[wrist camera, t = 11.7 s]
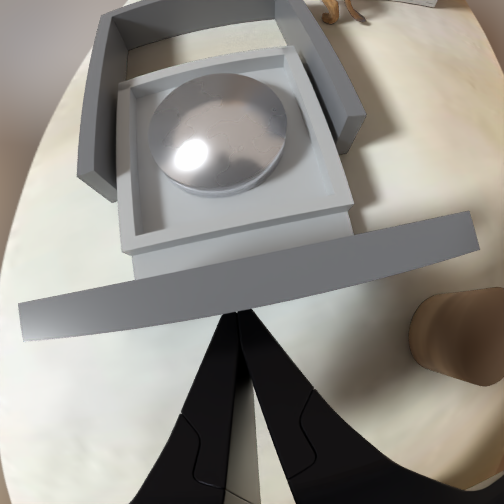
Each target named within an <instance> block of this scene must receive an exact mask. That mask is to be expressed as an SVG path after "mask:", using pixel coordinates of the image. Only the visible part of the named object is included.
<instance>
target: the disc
mask: <svg viewBox="0 0 504 504" xmlns="http://www.w3.org/2000/svg"><path fill="white" fill-rule="evenodd" d="M286 132H287V117H286V112H285V109H284V107H283V104H282V102H281V101H280V99H279V98H278V96H277V95H276V94H275V93H274V92H273V91H272V90H271V89H270V88H269V87H268V86H266V85H265V84H263V83H262V82H260V81H258V80H256V79H253V78H250V77H248V76H244V75H240V74H232V73H218V74H210V75H205V76H201V77H198V78H195V79H193V80H190V81H188V82H186V83H184V84H182V85H181V86H179V87H177V88H176V89H175V90H173V91H172V92H171V93H170V94H169V95H167V96H166V97H165V98H164V100H163V101H162V102H161V103H160V104H159V106H158V107H157V109H156V110H155V112H154V114H153V116H152V119H151V122H150V125H149V130H148V143H149V148H150V151H151V154H152V156H153V158H154V160H155V162H156V163H157V164H158V166H159V167H160V169H161V170H162V171H163V173H164V174H165V176H166V177H167V178H168V180H169V181H170V182H171V183H172V184H174V185H175V186H176V187H178V188H179V189H181V190H183V191H184V192H186V193H189V194H191V195H194V196H198V197H203V198H226V197H232V196H236V195H239V194H242V193H244V192H247V191H249V190H251V189H253V188H255V187H256V186H258V185H259V184H261V183H262V182H263V181H264V180H266V179H267V178H268V177H269V176H270V175H271V174H272V172H273V171H274V170H275V169H276V167H277V165H278V164H279V162H280V160H281V157H282V155H283V151H284V147H285V139H286Z"/></svg>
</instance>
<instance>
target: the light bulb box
mask: <svg viewBox="0 0 504 504" xmlns="http://www.w3.org/2000/svg"><path fill="white" fill-rule="evenodd" d="M391 1H399V2H406V3H412V4H418V5H424V6H429V7H435V5H436V3H437V1H438V0H391Z"/></svg>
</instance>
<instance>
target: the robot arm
mask: <svg viewBox="0 0 504 504" xmlns="http://www.w3.org/2000/svg"><path fill="white" fill-rule="evenodd" d="M253 386H254V389H255V392H256V395H257V398H258V401H259V404H260V407H261V410H262V413H263V415H264V418H265V421H266V424H267V427H268V430H269V433H270V435H271V438H272V441H273V444H274V446H275V449H276V452H277V455H278V457H279V460H280V463H281V466H282V468H283V471H284V474H285V476H286V479H287V481H288V484H289V487H290V489H291V492H292V495H293V497H294V500H295V503H296V504H504V471H502V472H500V473H498V474H496V475H494V476H492V477H491V478H489V479H487V480H485V481H483V482H481V483H479V484H477V485H475V486H473V487H470V488H468V489H466V490H462V489H458V488H455V487H452V486H450V485H447V484H444V483H441V482H439V481H436V480H433V479H431V478H428V477H426V476H423V475H421V474H418V473H416V472H413V471H411V470H409V469H406V468H404V467H402V466H400V465H399V464H397V463H395V462H394V461H392V460H391V459H389V458H388V457H386V456H385V455H384V454H383V453H381V452H380V451H379V450H378V449H376V448H375V447H374V446H373V445H372V444H371V443H369V442H368V441H367V440H366V439H365V438H363V437H362V436H361V435H360V434H359V433H358V432H356V431H355V430H354V429H353V428H352V427H351V426H350V425H348V424H347V423H346V422H345V421H344V420H343V419H342V418H341V417H340V416H339V415H338V414H337V413H336V412H335V411H334V410H333V409H332V408H331V407H330V405H329V404H328V403H327V402H326V401H325V400H324V399H323V397H322V396H321V395H320V394H319V393H318V391H317V390H316V389H314V387H313V386H312V384H311V383H310V382H309V381H308V379H307V378H306V377H305V376H304V374H303V373H302V372H301V371H300V370H299V368H298V367H297V366H296V365H295V363H294V362H293V361H292V360H291V358H290V357H289V356H288V355H287V353H286V352H285V351H284V350H283V348H282V347H281V346H280V344H279V343H278V342H277V341H276V339H275V338H274V337H273V336H272V334H271V333H270V332H269V330H268V329H267V328H266V327H265V325H264V324H263V323H262V322H261V320H260V319H259V318H258V316H257V315H256V314H255V312H254V311H253V310H252V309H246V310H241V311H238V312H237V313H236V312H231V313H226V314H223V315H222V316H221V318H220V321H219V323H218V325H217V328H216V330H215V332H214V335H213V337H212V339H211V342H210V344H209V346H208V349H207V351H206V353H205V356H204V358H203V360H202V363H201V365H200V367H199V370H198V372H197V375H196V377H195V379H194V382H193V384H192V386H191V389H190V391H189V393H188V396H187V398H186V400H185V403H184V405H183V408H182V410H181V413H182V414H179V417H178V419H177V421H176V424H175V426H174V428H173V430H172V433H171V435H170V437H169V439H168V441H167V443H166V445H165V447H164V449H163V450H162V452H161V454H160V456H159V458H158V459H157V461H156V463H155V464H154V466H153V468H152V469H151V471H150V473H149V474H148V476H147V478H146V479H145V481H144V483H143V484H142V486H141V488H140V489H139V491H138V493H137V494H136V496H135V497H134V498H133V500H132V501H131V502H130V503H129V504H261V499H260V484H259V470H258V455H257V439H256V424H255V408H254V392H253Z"/></svg>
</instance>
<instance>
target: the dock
mask: <svg viewBox="0 0 504 504" xmlns="http://www.w3.org/2000/svg"><path fill="white" fill-rule="evenodd" d="M268 19H275V20H276V22H277V25H278V27H279V29H280V31H281V33H282V35H283V37H284V39H285V41H286V43H287V45H288V46H294V47H295V49H296V52H297V54H298V56H299V58H300V60H301V62H302V64H303V67H304V69H305V71H306V73H307V76H308V78H309V80H310V83H311V85H312V87H313V90H314V92H315V94H316V97H317V99H318V102H319V104H320V107H321V109H322V112H323V114H324V117H325V119H326V122H327V125H328V127H329V130H330V132H331V135H332V138H333V141H334V143H335V146H336V149H337V152H338V154H345V153H347V152H348V150H349V149H350V147H351V145H352V143H353V141H354V139H355V137H356V135H357V133H358V131H359V129H360V127H361V125H362V123H363V121H364V119H365V117H366V115H367V114H366V112H365V110H364V108H363V106H362V103H361V101H360V99H359V97H358V95H357V93H356V91H355V89H354V87H353V85H352V83H351V81H350V79H349V77H348V75H347V73H346V71H345V69H344V67H343V66H342V64H341V62H340V60H339V58H338V56H337V55H336V53H335V51H334V49H333V48H332V46H331V44H330V42H329V41H328V39H327V37H326V36H325V34H324V32H323V31H322V29H321V27H320V26H319V24H318V23H317V21H316V19H315V18H314V16H313V15H312V13H311V12H310V10H309V9H308V7H307V6H306V4H305V3H304V1H303V0H142V1H139V2H136V3H133V4H130V5H127V6H124V7H121V8H119V9H116V10H114V11H111V12H108V13H106V14H104V15H101V18H100V22H99V25H98V29H97V33H96V37H95V41H94V45H93V50H92V54H91V59H90V64H89V69H88V75H87V80H86V86H85V93H84V100H83V107H82V115H81V124H80V134H79V146H78V162H77V177H78V178H79V179H81V180H82V181H83V182H85V183H86V184H87V185H89V186H90V187H91V188H93V189H94V190H95V191H97V192H98V193H99V194H101V195H102V196H103V197H105V198H106V199H107V200H109V201H110V202H116V201H118V199H117V173H116V125H117V100H118V84H119V83H121V82H123V81H126V70H127V57H128V50H130V49H133V48H136V47H139V46H142V45H145V44H148V43H152V42H155V41H159V40H162V39H166V38H169V37H173V36H177V35H181V34H185V33H189V32H194V31H198V30H203V29H208V28H213V27H218V26H224V25H230V24H236V23H243V22H250V21H258V20H268Z"/></svg>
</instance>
